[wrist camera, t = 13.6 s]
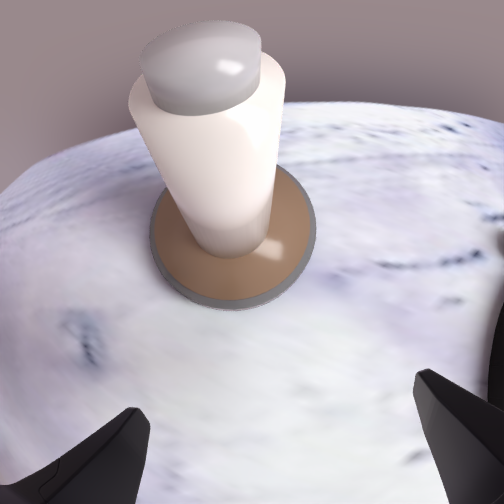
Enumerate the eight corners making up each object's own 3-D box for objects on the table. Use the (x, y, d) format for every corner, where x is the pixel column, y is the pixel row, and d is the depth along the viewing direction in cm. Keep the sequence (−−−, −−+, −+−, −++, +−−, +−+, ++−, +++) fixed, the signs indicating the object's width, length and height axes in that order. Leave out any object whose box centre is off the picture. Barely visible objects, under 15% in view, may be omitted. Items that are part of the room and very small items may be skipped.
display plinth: (237, 346, 18) (235, 347, 16) (128, 237, 21) (118, 228, 19) (341, 225, 21) (349, 214, 19) (230, 143, 23) (228, 128, 21)
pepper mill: (203, 269, 18) (113, 125, 5) (183, 200, 19) (115, 39, 7) (280, 243, 18) (322, 72, 6) (254, 178, 20) (253, 5, 7)
